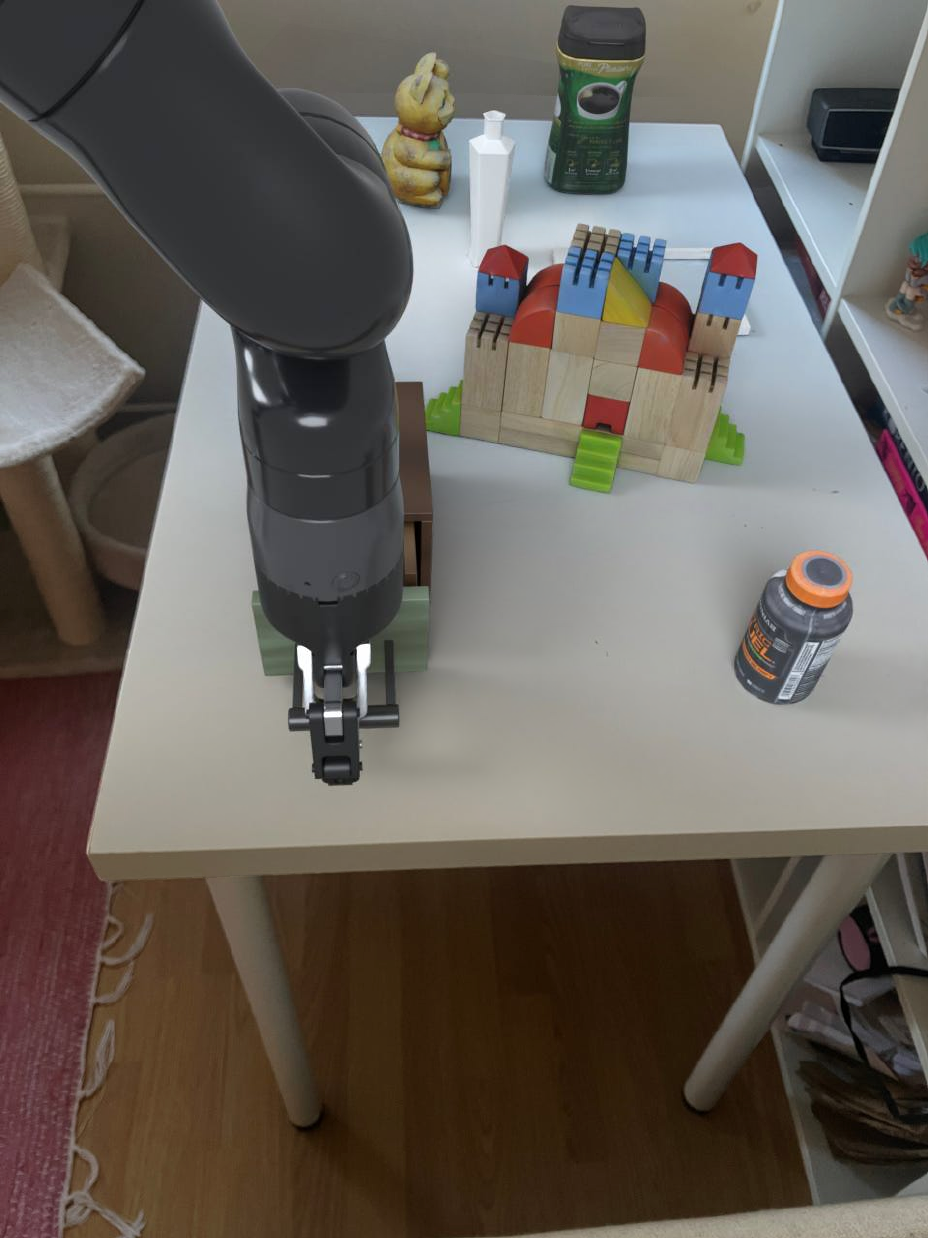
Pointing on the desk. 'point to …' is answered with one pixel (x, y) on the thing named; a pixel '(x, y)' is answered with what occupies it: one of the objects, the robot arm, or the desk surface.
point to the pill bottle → (795, 628)
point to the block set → (602, 359)
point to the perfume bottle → (489, 185)
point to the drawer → (389, 649)
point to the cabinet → (416, 474)
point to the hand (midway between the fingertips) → (340, 718)
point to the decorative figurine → (421, 136)
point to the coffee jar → (594, 98)
